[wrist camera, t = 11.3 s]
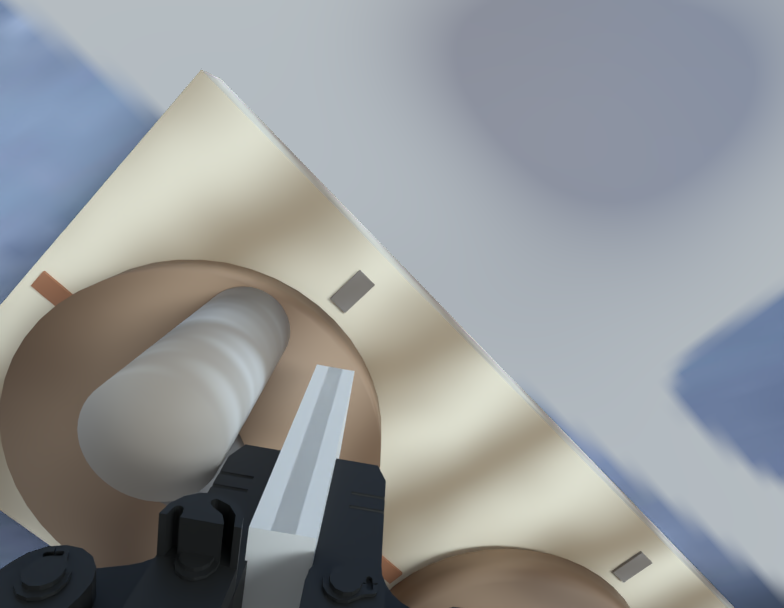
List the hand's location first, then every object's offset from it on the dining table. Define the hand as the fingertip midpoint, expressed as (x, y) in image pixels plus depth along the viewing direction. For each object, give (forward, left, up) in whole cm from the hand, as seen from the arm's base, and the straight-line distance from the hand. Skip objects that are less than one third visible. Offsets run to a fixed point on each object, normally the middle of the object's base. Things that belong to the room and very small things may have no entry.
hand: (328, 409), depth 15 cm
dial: (+1, +6, -5) cm, 8 cm away
